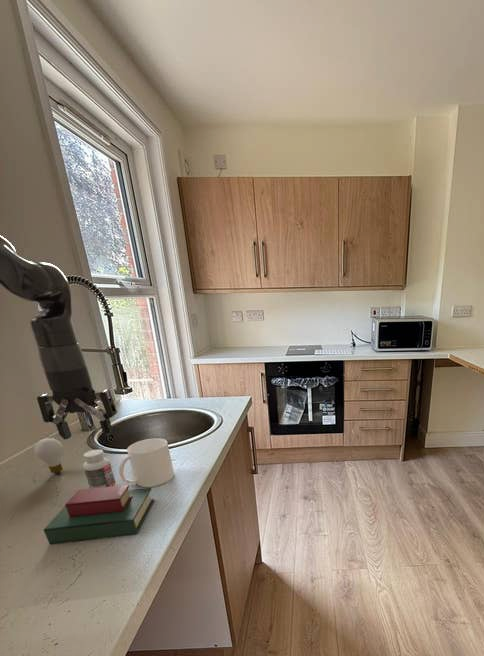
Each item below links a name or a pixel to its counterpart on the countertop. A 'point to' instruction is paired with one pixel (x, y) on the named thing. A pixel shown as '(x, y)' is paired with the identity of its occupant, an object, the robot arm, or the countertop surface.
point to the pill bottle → (98, 470)
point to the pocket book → (98, 501)
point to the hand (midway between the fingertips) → (87, 436)
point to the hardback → (101, 521)
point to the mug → (149, 463)
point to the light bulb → (50, 453)
